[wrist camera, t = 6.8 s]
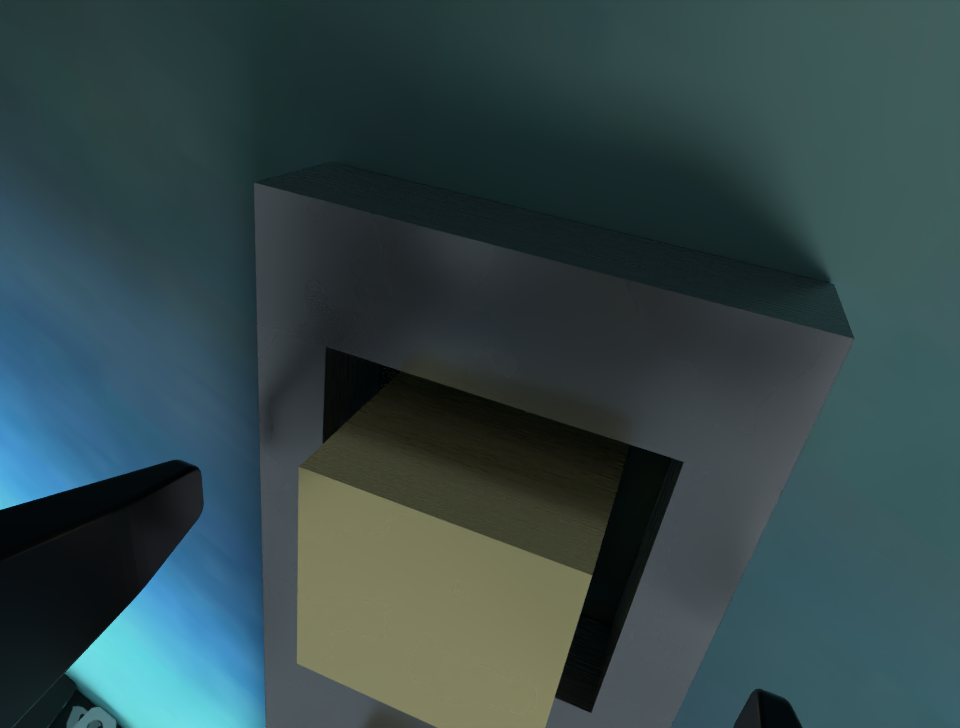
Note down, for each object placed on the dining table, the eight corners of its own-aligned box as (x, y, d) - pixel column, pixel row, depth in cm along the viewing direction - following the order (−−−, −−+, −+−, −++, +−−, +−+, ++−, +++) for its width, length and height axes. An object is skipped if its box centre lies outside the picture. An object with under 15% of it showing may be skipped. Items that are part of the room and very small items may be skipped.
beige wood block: (587, 582, 13) (531, 770, 10) (405, 514, 14) (297, 663, 10) (639, 414, 11) (591, 575, 8) (424, 348, 12) (298, 466, 9)
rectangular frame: (550, 933, 19) (531, 1021, 17) (308, 807, 20) (269, 874, 19) (834, 284, 9) (854, 339, 7) (330, 162, 11) (253, 182, 9)
